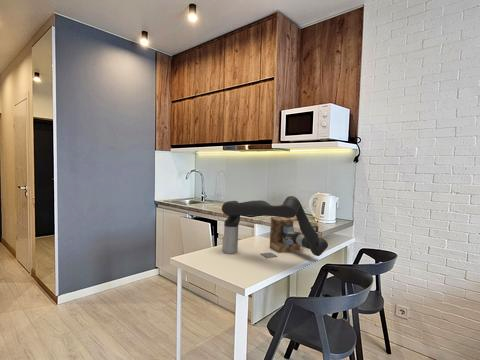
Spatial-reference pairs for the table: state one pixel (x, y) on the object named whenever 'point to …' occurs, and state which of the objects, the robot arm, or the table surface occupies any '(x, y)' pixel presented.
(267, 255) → the mat
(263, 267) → the table surface
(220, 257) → the table surface
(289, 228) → the carton
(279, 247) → the shelf
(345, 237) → the table surface
